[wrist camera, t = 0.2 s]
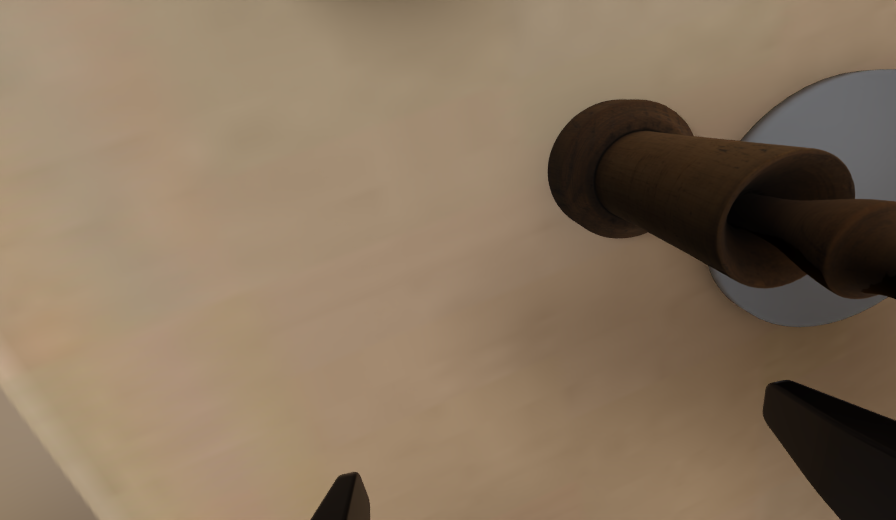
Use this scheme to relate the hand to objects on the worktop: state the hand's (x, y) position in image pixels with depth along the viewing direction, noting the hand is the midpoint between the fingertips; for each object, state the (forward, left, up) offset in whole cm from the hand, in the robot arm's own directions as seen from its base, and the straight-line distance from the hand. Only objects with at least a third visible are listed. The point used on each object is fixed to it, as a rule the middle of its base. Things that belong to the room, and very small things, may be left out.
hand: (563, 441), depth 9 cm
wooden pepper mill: (+2, -8, -15) cm, 17 cm away
